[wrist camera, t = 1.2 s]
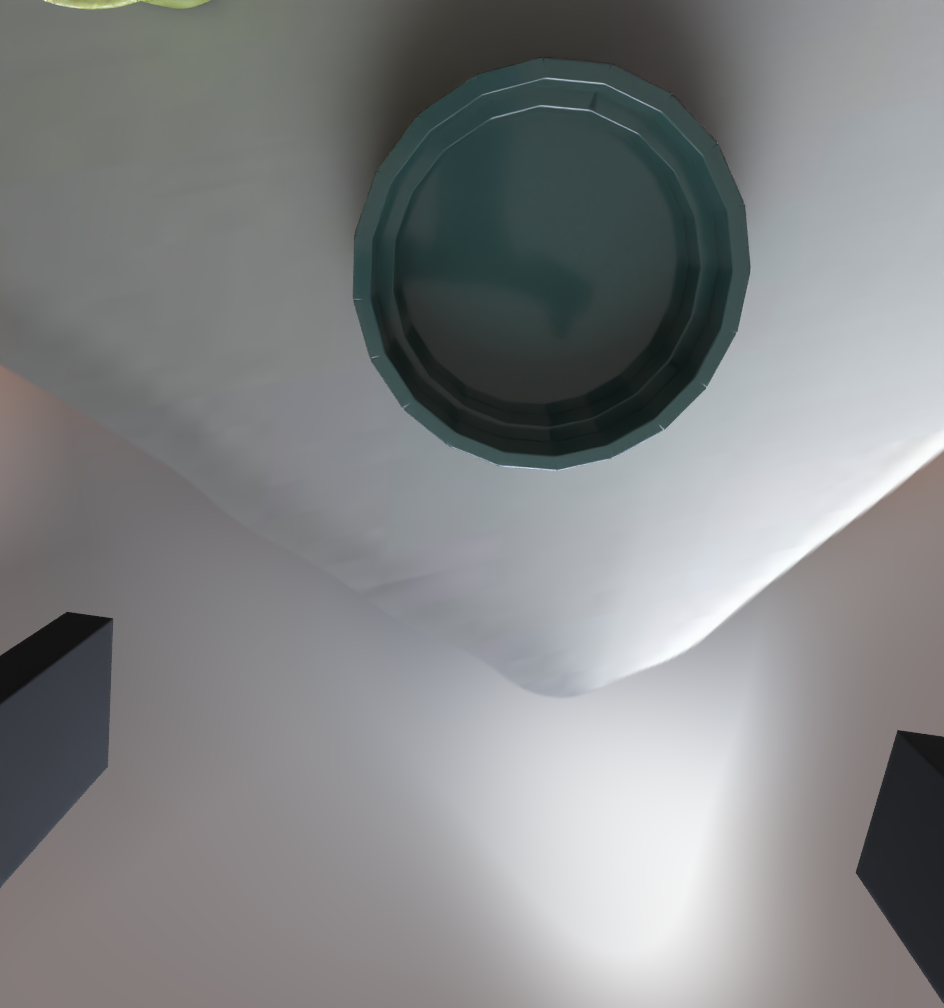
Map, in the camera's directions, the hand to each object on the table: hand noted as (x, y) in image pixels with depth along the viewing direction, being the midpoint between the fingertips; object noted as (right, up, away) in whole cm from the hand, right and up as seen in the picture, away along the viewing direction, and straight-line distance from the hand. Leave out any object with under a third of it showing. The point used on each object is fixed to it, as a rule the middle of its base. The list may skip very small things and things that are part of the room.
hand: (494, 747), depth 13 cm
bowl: (+3, +14, +21) cm, 26 cm away
